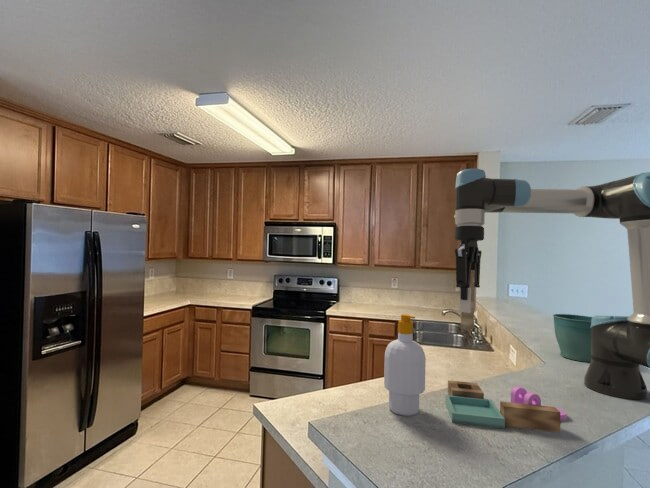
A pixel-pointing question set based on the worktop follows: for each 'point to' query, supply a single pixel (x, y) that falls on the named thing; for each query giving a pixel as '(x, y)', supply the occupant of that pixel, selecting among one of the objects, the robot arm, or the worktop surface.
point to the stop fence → (530, 416)
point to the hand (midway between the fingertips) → (467, 311)
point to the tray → (474, 411)
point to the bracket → (530, 399)
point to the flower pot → (573, 336)
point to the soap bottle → (404, 370)
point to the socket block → (464, 389)
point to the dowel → (468, 318)
